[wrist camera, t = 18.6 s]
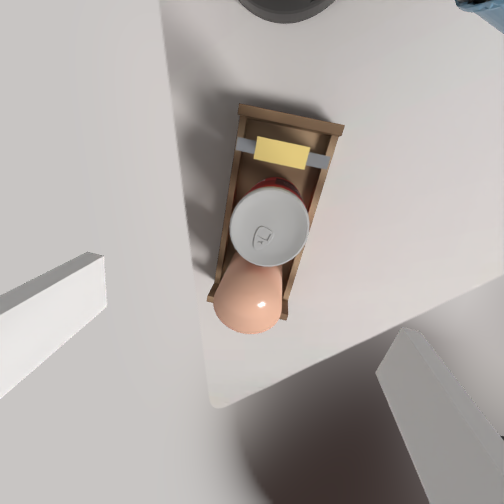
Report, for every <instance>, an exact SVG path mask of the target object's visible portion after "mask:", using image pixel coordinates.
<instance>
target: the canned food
mask: <svg viewBox="0 0 504 504" xmlns="http://www.w3.org/2000/svg"><path fill="white" fill-rule="evenodd" d="M309 225H310V223H309V216H308V212H307V209H306V206H305V204H304V201H303V199H302V197H301V194H300V192H299V191H298V189H297V188H296V186H295V185H294V184H293V183H291V182H290V181H288V180H286V179H284V178H279V177H270V178H266V179H264V180H262V181H260V182H258V183H257V184H256V185H254V186H253V187H252V188H251V189H250V190H249V191H248V192H247V193H246V194H245V195H244V197H243V198H242V199H241V200H240V201H239V202H238V204H237V205H236V207H235V209H234V211H233V213H232V216H231V219H230V226H229V227H230V237H231V241H232V243H233V245H234V248H235V249H236V250H237V252H238V253H239V254H240V255H241V256H242V257H243V258H244V259H246V260H247V261H249V262H250V263H253V264H255V265H259V266H264V267H272V266H278V265H281V264H284V263H286V262H288V261H290V260H291V259H293V258H294V257H295V256H296V255H298V253H299V252H300V251H301V250H302V248H303V247H304V245H305V243H306V241H307V238H308V234H309Z"/></svg>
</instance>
